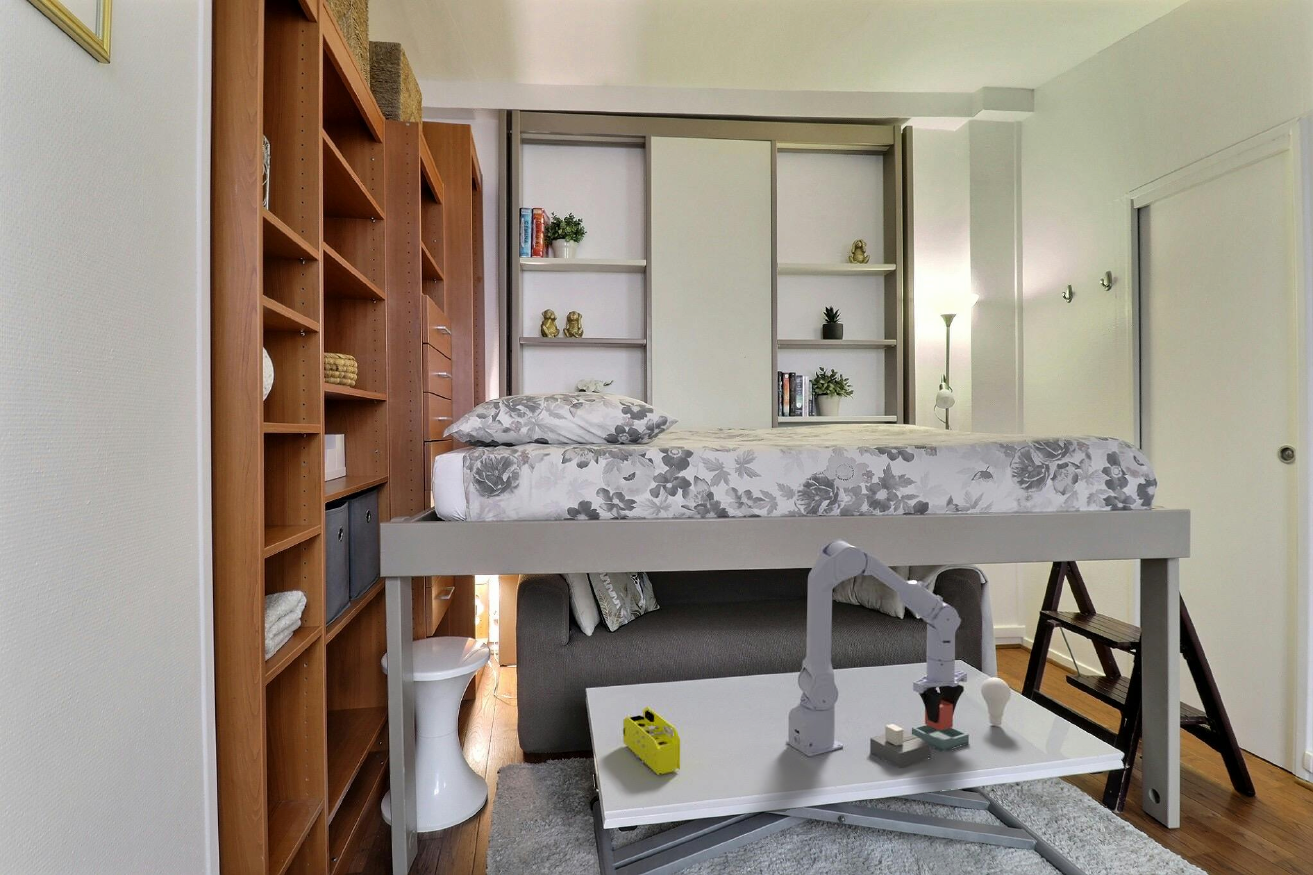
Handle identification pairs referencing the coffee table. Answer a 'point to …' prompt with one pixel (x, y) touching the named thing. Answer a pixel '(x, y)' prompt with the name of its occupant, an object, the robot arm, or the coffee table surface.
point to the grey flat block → (901, 750)
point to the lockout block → (942, 717)
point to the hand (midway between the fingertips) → (940, 718)
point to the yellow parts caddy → (653, 741)
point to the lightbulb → (995, 698)
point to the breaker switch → (894, 734)
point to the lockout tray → (941, 737)
